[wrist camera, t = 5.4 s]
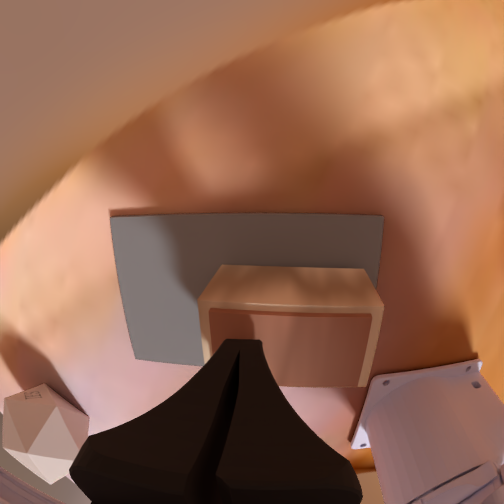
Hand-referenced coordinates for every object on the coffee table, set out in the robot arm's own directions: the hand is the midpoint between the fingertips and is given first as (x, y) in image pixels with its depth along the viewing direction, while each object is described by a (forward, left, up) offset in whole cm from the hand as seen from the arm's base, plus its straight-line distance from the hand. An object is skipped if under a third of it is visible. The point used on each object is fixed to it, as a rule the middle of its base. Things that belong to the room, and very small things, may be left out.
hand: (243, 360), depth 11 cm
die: (+17, +12, -6) cm, 22 cm away
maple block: (+2, 0, -3) cm, 3 cm away
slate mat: (0, 0, -5) cm, 5 cm away
